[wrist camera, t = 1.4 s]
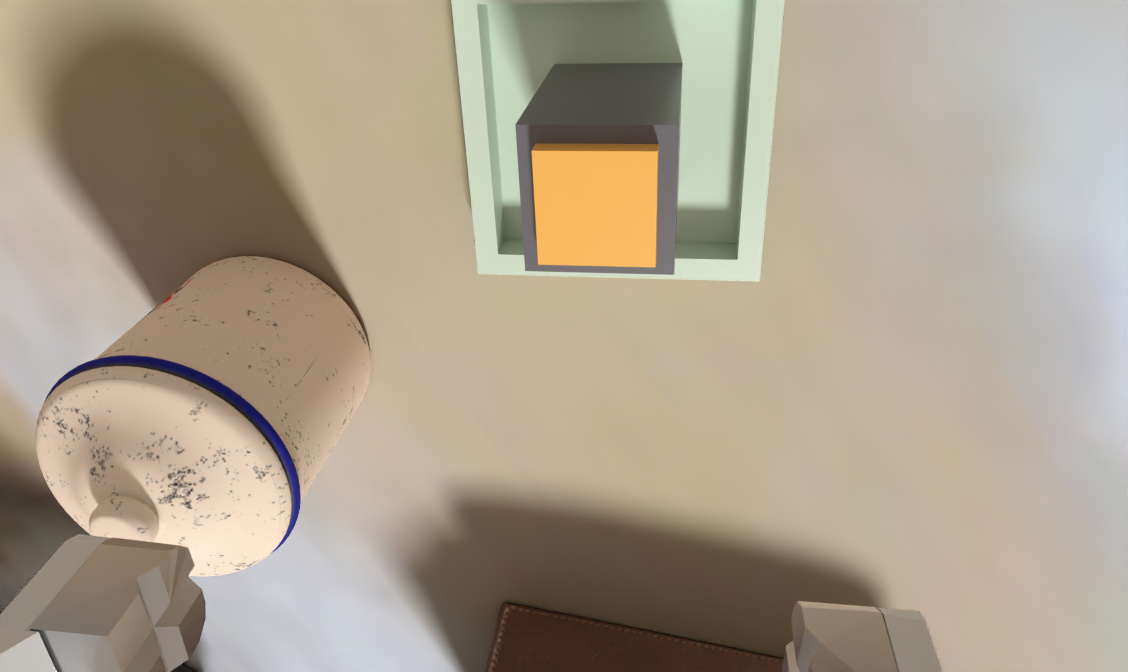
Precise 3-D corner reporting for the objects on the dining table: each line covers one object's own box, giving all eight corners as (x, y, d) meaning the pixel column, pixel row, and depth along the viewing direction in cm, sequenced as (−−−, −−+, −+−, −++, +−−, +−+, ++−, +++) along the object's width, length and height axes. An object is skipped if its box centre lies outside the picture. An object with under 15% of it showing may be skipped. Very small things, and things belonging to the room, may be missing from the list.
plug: (682, 62, 27) (678, 131, 21) (678, 186, 29) (673, 284, 23) (554, 63, 28) (510, 131, 21) (559, 185, 30) (521, 280, 23)
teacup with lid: (166, 224, 34) (-58, 385, 24) (386, 274, 33) (254, 457, 23) (184, 454, 40) (13, 657, 30) (370, 496, 40) (260, 716, 30)
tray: (781, -40, 26) (787, -32, 24) (756, 257, 31) (759, 281, 29) (464, -32, 27) (448, -24, 25) (489, 251, 32) (478, 274, 30)
